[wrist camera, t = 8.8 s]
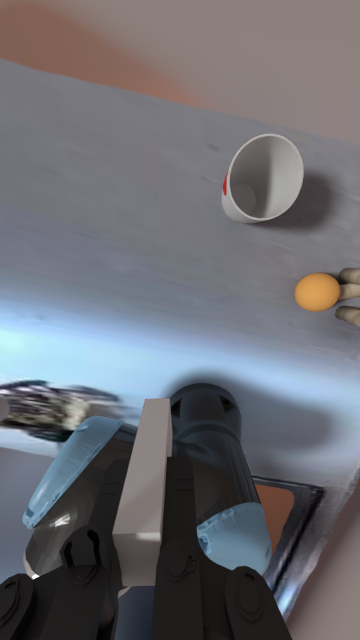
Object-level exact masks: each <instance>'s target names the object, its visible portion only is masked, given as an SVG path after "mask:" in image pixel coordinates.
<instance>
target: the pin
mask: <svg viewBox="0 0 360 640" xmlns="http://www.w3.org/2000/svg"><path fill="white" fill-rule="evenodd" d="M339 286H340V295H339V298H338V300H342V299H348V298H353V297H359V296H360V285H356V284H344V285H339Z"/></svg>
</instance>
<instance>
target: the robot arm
mask: <svg viewBox="0 0 360 640" xmlns="http://www.w3.org/2000/svg"><path fill="white" fill-rule="evenodd" d="M240 437H241V415H240V411H239V408H238V406H237V403H236V401H235V399H234V398H233V397H232V395H231V394H230V393H228V392H227V391H226V390H224V389H223V388H221V387H218V386H216V385H212V384H193V385H190V386H187V387H184V388H182V389H181V390H179V391H177V392H176V393H175V394H174V395H173V396H172V397H171V398H161V399H145V402H144V406H143V410H142V414H141V418H140V422H139V426H138V427H136V426H133V425H130V424H127V423H124V421H122V420H120V421H117V420H113V419H109V418H105V417H102V416H92V417H90V418H88V419H86V420H85V421H83V422H82V423H81V424H80V425H79V426H78V428H77V429H76V430H75V431H74V432H73V434H72V435H71V436H70V438H69V439H68V441H67V442H66V443H65V445H64V446H63V448H62V449H61V450H60V452H59V454H58V455H57V457H56V458H55V460H54V461H53V463H52V464H51V466H50V467H49V469H48V471H47V472H46V474H45V475H44V477H43V479H42V481H41V482H40V484H39V486H38V487H37V489H36V491H35V493H34V494H33V496H32V499H31V500H30V503H29V506H28V508H27V510H26V511H25V513H24V516H23V523H24V524H25V525H27V528H28V529H32V528H35V529H34V532H33V535H32V537H31V539H30V541H29V543H28V546H27V548H26V550H25V552H24V558H23V559H24V565H25V569H26V572H27V574H16V575H14V576H12V577H10V578H8V579H7V580H5V581H4V582H3V583H2V584H0V640H114V638H115V632H116V626H117V620H118V612H119V602H118V598H119V597H120V596H121V595H122V594H124V593H125V592H126V591H127V590H128V589H129V588H130V587H131V586H148V585H155V592H154V604H153V617H152V630H151V640H292V638H291V636H290V633H289V631H288V629H287V627H286V624H285V622H284V620H283V617H282V615H281V613H280V610H279V608H278V606H277V604H276V601H275V599H274V597H273V594H272V592H271V590H270V588H269V586H268V585H267V583H266V581H265V580H264V578H263V577H262V575H263V574H264V572H265V571H266V569H267V567H268V565H269V562H270V559H271V553H272V546H271V540H270V536H269V532H268V528H267V525H266V521H265V517H264V515H265V514H264V510H263V507H262V505H261V502H260V500H259V496H258V494H257V491H256V488H255V485H254V482H253V479H252V476H251V473H250V470H249V467H248V464H247V461H246V458H245V456H244V453H243V450H242V447H241V444H240Z"/></svg>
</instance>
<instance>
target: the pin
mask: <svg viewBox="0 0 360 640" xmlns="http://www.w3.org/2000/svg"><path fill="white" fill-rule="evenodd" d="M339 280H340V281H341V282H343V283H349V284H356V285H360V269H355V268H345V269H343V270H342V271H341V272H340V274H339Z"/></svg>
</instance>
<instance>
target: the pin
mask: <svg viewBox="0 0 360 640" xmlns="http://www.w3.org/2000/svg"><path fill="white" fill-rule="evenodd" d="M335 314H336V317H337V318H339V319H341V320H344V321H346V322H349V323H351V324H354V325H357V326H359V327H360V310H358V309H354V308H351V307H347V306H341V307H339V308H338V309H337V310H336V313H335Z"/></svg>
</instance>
